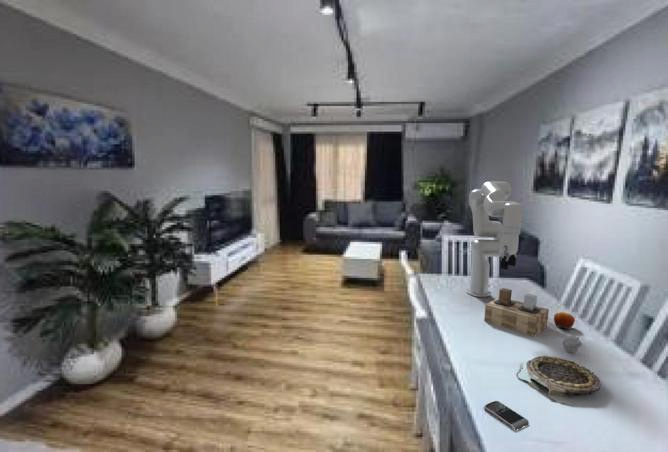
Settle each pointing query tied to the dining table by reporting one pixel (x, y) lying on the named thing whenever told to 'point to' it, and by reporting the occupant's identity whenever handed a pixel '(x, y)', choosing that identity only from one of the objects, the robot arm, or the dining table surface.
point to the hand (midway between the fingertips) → (507, 267)
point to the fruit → (564, 320)
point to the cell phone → (506, 415)
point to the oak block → (516, 316)
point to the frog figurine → (571, 343)
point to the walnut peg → (505, 296)
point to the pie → (561, 376)
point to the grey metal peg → (530, 302)
